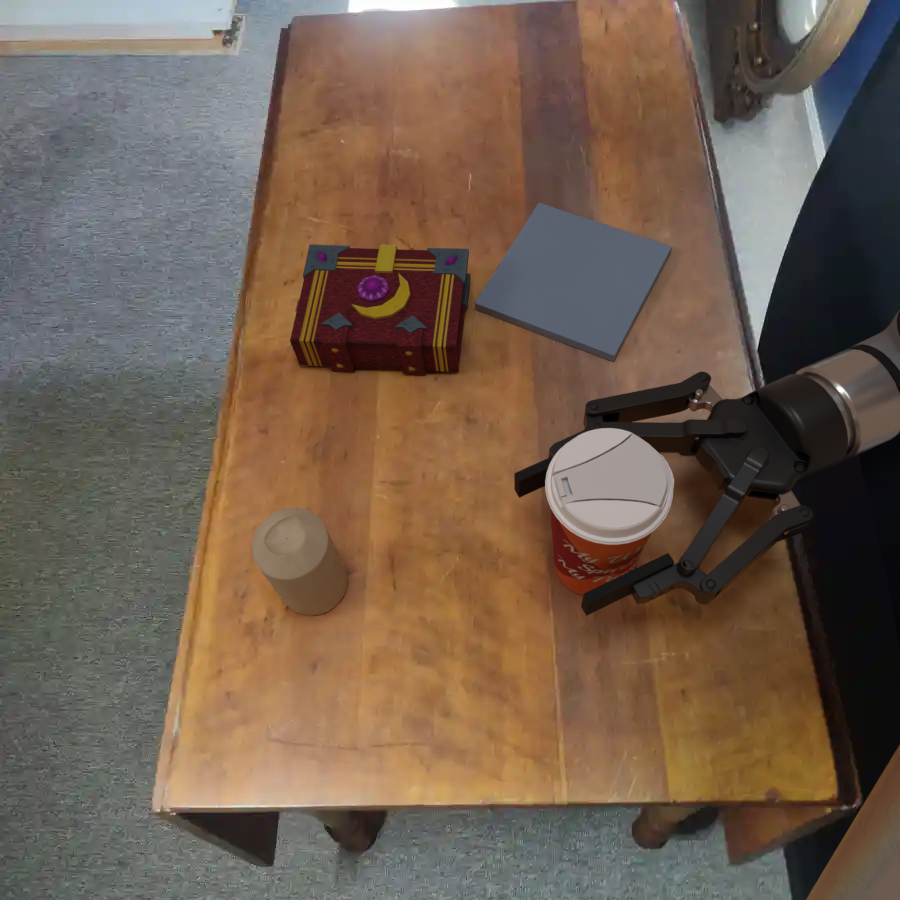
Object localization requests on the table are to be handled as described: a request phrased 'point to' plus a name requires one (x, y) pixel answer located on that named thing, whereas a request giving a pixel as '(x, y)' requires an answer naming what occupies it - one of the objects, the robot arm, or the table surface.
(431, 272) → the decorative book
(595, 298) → the cup mat
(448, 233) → the table surface
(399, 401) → the table surface
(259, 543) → the candle
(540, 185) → the table surface
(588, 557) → the coffee cup
